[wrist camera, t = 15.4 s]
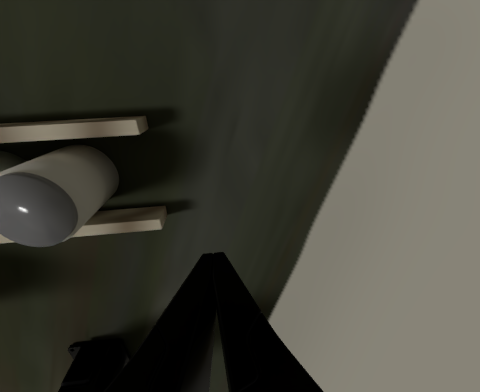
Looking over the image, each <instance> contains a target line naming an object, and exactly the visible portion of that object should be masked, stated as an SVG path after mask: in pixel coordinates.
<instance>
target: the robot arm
mask: <svg viewBox="0 0 480 392" xmlns="http://www.w3.org/2000/svg"><path fill="white" fill-rule="evenodd" d="M216 309H217V316H218V323H219V330H220V336H221V343H222V350H223V356H224V363H225V369H226V376H227V383H228V389H229V392H323V391H322V389H321V388H320V387H319V386H318V385H317V383H316V382H315V381H314V380H313V379H312V377H311V376H310V375H309V374H308V373H307V371H306V370H305V369H304V368H303V366H302V365H301V364H300V363H299V362H298V361H297V359H296V358H295V357H294V356H293V354H291V352H290V351H289V350H288V348H287V347H286V346H285V345H284V343H283V342H282V341H281V339H280V338H279V337H278V336H277V334H276V333H275V331H274V330H273V328H272V327H271V325H270V324H269V322H268V321H267V319H266V318H265V316H264V315H263V313H262V312H261V310H260V309H259V307H258V305H257V304H256V302H255V301H254V299H253V297H252V296H251V294H250V293H249V291H248V290H247V288H246V286H245V285H244V283H243V282H242V280H241V279H240V277H239V275H238V274H237V272H236V271H235V269H234V268H233V266H232V264H231V263H230V261H229V260H228V258H227V257H226V255H225V253H224V252H217V253H214V254H213V253H207V254H203V255H202V256H201V257H200V259H199V260H198V262H197V263H196V265H195V266H194V268H193V269H192V271H191V272H190V274H189V275H188V277H187V278H186V279H185V281H184V282H183V284H182V285H181V287H180V288H179V290H178V291H177V293H176V294H175V296H174V297H173V299H172V300H171V302H170V303H169V305H168V306H167V308H166V309H165V311H164V312H163V313H162V315H161V316H160V318H159V319H158V321H157V322H156V325H154V327H153V328H152V330H151V331H150V333H149V334H148V335H147V337H146V338H145V340H144V341H143V342H142V344H141V345H140V347H139V348H138V349H137V351H136V352H135V353H134V355H133V356H132V357H130V355H129V353H128V351H127V348H126V346H125V344H124V342H123V340H121V339H115V340H107V341H98V342H90V343H81V344H73V345H70V347H69V348H68V352H69V353H70V355H71V356H72V358H73V359H74V360H73V362H72V364H71V366H70V368H69V370H68V372H67V374H66V376H65V377H64V379H63V381H62V383H61V387H60V389H59V391H58V392H209V387H210V377H211V366H212V355H213V344H214V333H215V322H216Z"/></svg>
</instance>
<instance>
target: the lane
mask: <svg viewBox="0 0 480 392" xmlns="http://www.w3.org/2000/svg"><path fill="white" fill-rule="evenodd" d="M148 129H149V128H148V124H147V119H146V116H132V117H114V118H96V119H77V120H59V121H41V122H23V123H4V124H0V143H10V142H27V141H44V140H60V139H77V138H94V137H110V136H127V135H140V134H141V133H143V132H145V131H146V130H148ZM166 217H167V211H166V207H165V206H156V207H144V208H132V209H119V210H107V211H97V212H96V213H95V214H94V215H93V216H92V217H91V218H90V219H89V220H88V221H87V222H86V223H85V224H84V225H83V226H82V227H81V228H80V229H79V230H78V231H77V232H76V233H75V234H74V235H73V236H72V237H79V236H91V235H102V234H113V233H125V232H136V231H148V230H159V229H162V228H163V225H164V222H165V220H166ZM11 242H14V241H12V240H9V239H8V238H6V237H4V236H2V235H1V234H0V243H11Z"/></svg>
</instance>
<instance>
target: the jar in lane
mask: <svg viewBox="0 0 480 392" xmlns="http://www.w3.org/2000/svg"><path fill="white" fill-rule="evenodd" d="M24 162H27V161H26V160H24V159H23V158H21V157H19V156H17V155H15V154H12V153H9V152H5V151H0V172H1V171H4V170H7V169H9V168H12V167H14V166H17V165H19V164H22V163H24Z"/></svg>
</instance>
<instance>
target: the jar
mask: <svg viewBox="0 0 480 392" xmlns="http://www.w3.org/2000/svg"><path fill="white" fill-rule="evenodd" d="M118 185H119V175H118V172H117V169H116V167H115V165H114V164H113V162H112V161H111V160H110V159H109V158H108V157H107V156H106V155H105V154H104V153H103V152H101V151H99V150H98V149H96V148H93V147H91V146H87V145H82V144H73V145H68V146H65V147H63V148H60V149H58V150H55V151H53V152H50V153H47V154H45V155H42V156H40V157H37V158H35V159H32V160H30V161H27V162H24V163H22V164H19V165H17V166H14V167H12V168H9V169H7V170H4V171H1V172H0V234H1V235H2V236H4V237H6V238H8V239H9V240H12V241H14V242H16V243H19V244H23V245H26V246H32V247H48V246H53V245H56V244H58V243H60V242H62V241H65V240H67V239H69V238H71V237H72V236H73V235H74V234H75V233H76V232H77V231H78V230H79V229H80V228H81V227H82V226H83V225H84V224H85V223H86V222H87V221H88V220H89V219H90V218H91V217H92V216H93V215H94V214H95V213H96V212H97V211H98V210H99V209H100V208H101V207H102V206H103V205H104V203H105V202H106V201H107V200H108V199H109V198H110V197H111V196H112V195H113V194H114V193H115V192H116V190H117V188H118Z"/></svg>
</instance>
